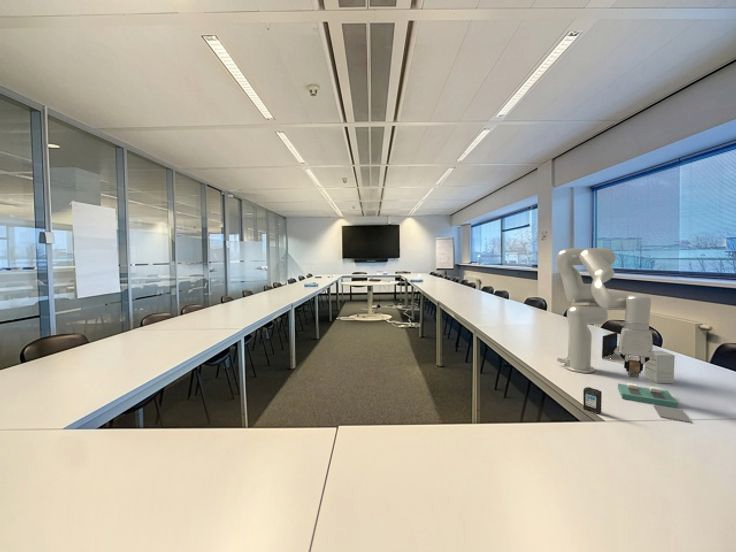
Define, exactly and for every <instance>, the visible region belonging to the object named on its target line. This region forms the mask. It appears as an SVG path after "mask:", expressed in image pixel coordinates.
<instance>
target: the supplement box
mask: <svg viewBox="0 0 736 552" xmlns="http://www.w3.org/2000/svg"><path fill="white" fill-rule="evenodd" d="M653 352H654V354H655V356H656V358H655V359H651V360H649V361H647V362H645V363H644V369H643V371H644V372H643V373H644V374H643V375H644V378H646V379H647V380H649V381H651V382H653V383H655V384H674V383H675V382H674V380H675V359H676V358H675V357H676V356H675V354H673V353H669V352H667V351H664V350H653Z"/></svg>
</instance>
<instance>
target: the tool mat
mask: <svg viewBox="0 0 736 552" xmlns="http://www.w3.org/2000/svg"><path fill="white" fill-rule="evenodd" d="M652 405H653V408H654V410H655V411H656V412H657V414H658V416H659V418H662V419H667V420H672V419H673V421H678V420H679V422H683V421H685V423H689V422H691V423H690V424H693V421H692V420H691V419H690V418H689V416H688V415H687V414H686V413H685V411H684V410H683V409H679V408H673V407H668V406H662V405H656V404H652Z"/></svg>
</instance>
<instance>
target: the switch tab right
mask: <svg viewBox="0 0 736 552" xmlns="http://www.w3.org/2000/svg"><path fill="white" fill-rule="evenodd" d="M649 388H650V391H652V392H658V393H661V390H662V389H661V388H660V387H657V386H651V385H650V386H649Z"/></svg>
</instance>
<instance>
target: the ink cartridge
mask: <svg viewBox="0 0 736 552" xmlns="http://www.w3.org/2000/svg"><path fill="white" fill-rule="evenodd" d="M582 393H583V396H582V397H583V398H582V399H583V400H582V402H583V403H582V405H583V408H582V409H583V410H585V411H587V412H590V413H593V414H597V415H598V414H600V413H602V390H599V389H597V388H593V387H590V386H587V387H584V388H583V392H582Z"/></svg>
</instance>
